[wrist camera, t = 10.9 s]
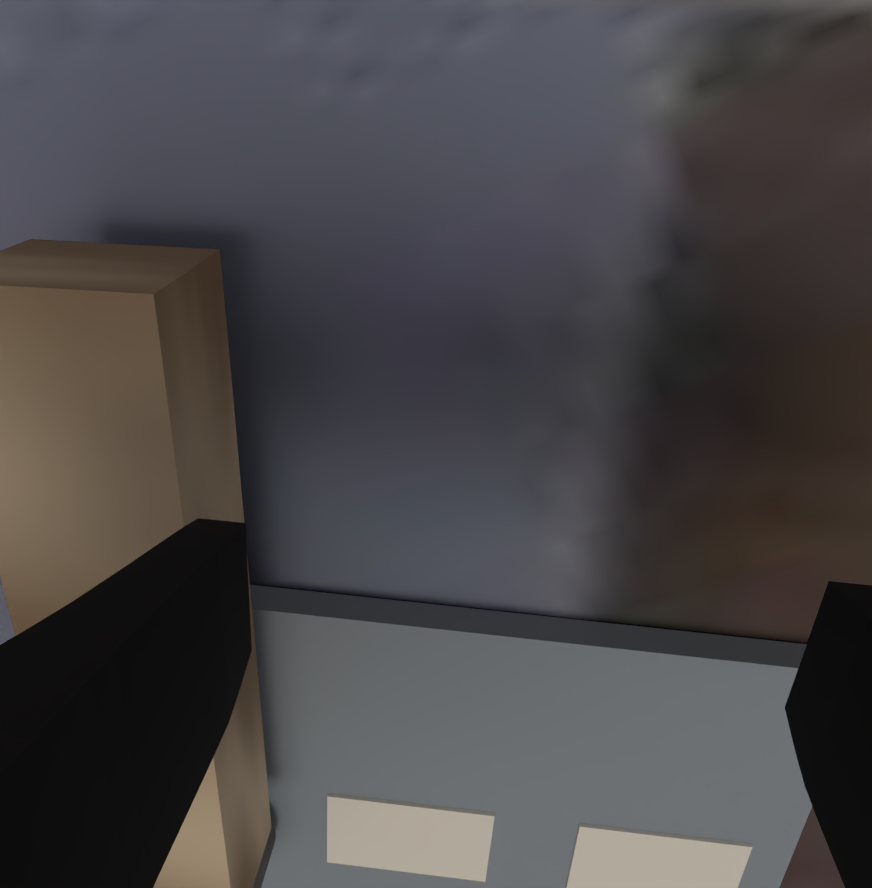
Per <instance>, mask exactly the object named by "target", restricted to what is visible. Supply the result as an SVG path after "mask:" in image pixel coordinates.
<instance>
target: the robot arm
mask: <svg viewBox="0 0 872 888" xmlns="http://www.w3.org/2000/svg"><path fill="white" fill-rule="evenodd" d="M251 651H252V643H251V623H250V604H249V585H248V565H247V546H246V526H245V523H241V522H231V521H221V520H211V519H201V518H198V519H196V520H194V521H193V522H191V523H189V524H188V525H186V526H184V527H183V528H181V529H180V530H178V531H177V532H175V533H174V534H172V535H171V536H169V537H168V538H166V539H165V540H163V541H162V542H160V543H159V544H157V545H156V546H155V547H153V548H152V549H150V550H149V551H147V552H146V553H144V554H143V555H141V556H140V557H138V558H137V559H136V560H134V561H133V562H131V563H130V564H128V565H127V566H125V567H124V568H122V569H121V570H119V571H118V572H116V573H115V574H113V575H112V576H110V577H109V578H107V579H106V580H104V581H103V582H101V583H100V584H98V585H97V586H95V587H94V588H92V589H91V590H89V591H88V592H86V593H85V594H83V595H82V596H80V597H78V598H77V599H75V600H74V601H72V602H71V603H69V604H68V605H66V606H64V607H63V608H61V609H59V610H58V611H56V612H54V613H53V614H51V615H49V616H48V617H46V618H44V619H43V620H41V621H39V622H38V623H36V624H35V625H33V626H31V627H30V628H28V629H26V630H25V631H23V632H21V633H20V634H18V635H16V636H15V637H13V638H11V639H10V640H8V641H6V642H5V643H3V644H1V645H0V888H153V887H154V884H155V882H156V880H157V878H158V876H159V874H160V871H161V869H162V867H163V865H164V863H165V861H166V859H167V856H168V854H169V852H170V850H171V848H172V846H173V843H174V841H175V839H176V837H177V835H178V833H179V831H180V828H181V826H182V824H183V822H184V820H185V818H186V815H187V813H188V811H189V809H190V807H191V805H192V803H193V800H194V798H195V796H196V794H197V792H198V790H199V787H200V785H201V783H202V781H203V779H204V777H205V774H206V772H207V770H208V768H209V766H210V763H211V761H212V759H213V757H214V755H215V752H216V750H217V748H218V746H219V744H220V742H221V739H222V737H223V735H224V733H225V730H226V728H227V726H228V724H229V721H230V718H231V715H232V712H233V709H234V706H235V703H236V700H237V697H238V694H239V691H240V688H241V684H242V681H243V678H244V674H245V671H246V668H247V665H248V661H249V658H250V655H251ZM785 711H786V715H787V719H788V724H789V728H790V732H791V736H792V740H793V744H794V749H795V752H796V756H797V760H798V763H799V767H800V771H801V774H802V778H803V782H804V785H805V788H806V791H807V793H808V796H809V798H810V801H811V804H812V806H813V809H814V811H815V814H816V816H817V819H818V821H819V824H820V826H821V829H822V831H823V834H824V836H825V839H826V841H827V844H828V846H829V849H830V851H831V854H832V856H833V859H834V861H835V864H836V866H837V869H838V871H839V873H840V876H841V878H842V881H843V883H844V886H845V888H872V586H870V585H860V584H850V583H840V582H830V581H829V582H828V585H827V588H826V591H825V594H824V597H823V599H822V602H821V605H820V608H819V611H818V614H817V616H816V619H815V622H814V625H813V628H812V631H811V634H810V636H809V639H808V642H807V645H806V648H805V651H804V654H803V656H802V659H801V662H800V665H799V668H798V671H797V674H796V676H795V679H794V682H793V685H792V688H791V691H790V694H789V696H788V699H787V702H786V705H785Z"/></svg>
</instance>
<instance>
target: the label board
mask: <svg viewBox="0 0 872 888" xmlns="http://www.w3.org/2000/svg"><path fill="white" fill-rule="evenodd" d="M250 592H251V603H252V614H253V625H254V636H255V648H256V659H257V670H258V681H259V693H260V704H261V715H262V726H263V738H264V749H265V760H266V771H267V782H268V794H269V805H270V816H271V822H272V823H273V826H274V829H275V833H276V839H275V844H274V847H273V850H272V854H271V857H270V860H269V863H268V867H267V870H266V873H265V877H264V880H263V883H262V887H261V888H779V887H780V884H781V882H782V880H783V877H784V875H785V872H786V870H787V867H788V865H789V862H790V860H791V857H792V855H793V852H794V850H795V847H796V845H797V842H798V840H799V837H800V835H801V832H802V830H803V828H804V825H805V823H806V820H807V818H808V815H809V813H810V810H811V808H812V804H811V801H810V798H809V796H808V793H807V791H806V788H805V785H804V782H803V778H802V774H801V771H800V767H799V763H798V760H797V756H796V752H795V749H794V744H793V740H792V736H791V732H790V728H789V724H788V719H787V715H786V711H785V705H786V702H787V699H788V696H789V694H790V691H791V688H792V685H793V682H794V679H795V676H796V674H797V671H798V668H799V665H800V662H801V659H802V656H803V654H804V651H805V648H806V645H807V644H800V643H790V642H781V641H772V640H762V639H753V638H743V637H734V636H725V635H715V634H706V633H697V632H687V631H678V630H669V629H659V628H650V627H641V626H631V625H622V624H613V623H603V622H594V621H585V620H575V619H566V618H557V617H547V616H538V615H529V614H519V613H510V612H501V611H491V610H482V609H473V608H463V607H454V606H445V605H435V604H426V603H417V602H407V601H398V600H388V599H379V598H370V597H360V596H351V595H342V594H332V593H323V592H314V591H304V590H295V589H286V588H276V587H267V586H258V585H250Z"/></svg>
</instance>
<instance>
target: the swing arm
mask: <svg viewBox="0 0 872 888" xmlns="http://www.w3.org/2000/svg"><path fill="white" fill-rule="evenodd" d="M198 518H201V519H211V520H221V521H231V522H241V523H244V513H243V502H242V490H241V479H240V468H239V457H238V446H237V434H236V423H235V412H234V401H233V389H232V378H231V367H230V356H229V345H228V333H227V322H226V311H225V300H224V288H223V277H222V266H221V255H220V249H204V248H186V247H167V246H148V245H129V244H111V243H92V242H73V241H54V240H35V239H30V240H27V241H25V242H22V243H20V244H17V245H15V246H12V247H9V248H7V249H4V250H2V251H0V577H1V581H2V585H3V589H4V593H5V597H6V600H7V604H8V608H9V612H10V616H11V620H12V624H13V627H14V631H15V635H18V634H20V633H21V632H23V631H25V630H26V629H28V628H30V627H31V626H33V625H35V624H36V623H38V622H39V621H41V620H43V619H44V618H46V617H48V616H49V615H51V614H53V613H54V612H56V611H58V610H59V609H61V608H63V607H64V606H66V605H68V604H69V603H71V602H72V601H74V600H75V599H77V598H78V597H80V596H82V595H83V594H85V593H86V592H88V591H89V590H91V589H92V588H94V587H95V586H97V585H98V584H100V583H101V582H103V581H104V580H106V579H107V578H109V577H110V576H112V575H113V574H115V573H116V572H118V571H119V570H121V569H122V568H124V567H125V566H127V565H128V564H130V563H131V562H133V561H134V560H136V559H137V558H138V557H140V556H141V555H143V554H144V553H146V552H147V551H149V550H150V549H152V548H153V547H155V546H156V545H157V544H159V543H160V542H162V541H163V540H165V539H166V538H168V537H169V536H171V535H172V534H174V533H175V532H177V531H178V530H180V529H181V528H183V527H184V526H186V525H188V524H189V523H191V522H193V521H194V520H196V519H198ZM247 565H248V558H247ZM248 585H249V604H250V623H251V643H252V651H251V655H250V658H249V661H248V665H247V668H246V671H245V674H244V678H243V681H242V684H241V688H240V691H239V694H238V697H237V700H236V703H235V706H234V709H233V712H232V715H231V718H230V721H229V724H228V726H227V728H226V730H225V733H224V735H223V737H222V739H221V742H220V744H219V746H218V748H217V750H216V752H215V755H214V757H213V759H212V761H211V763H210V766H209V768H208V770H207V772H206V774H205V777H204V779H203V781H202V783H201V785H200V787H199V790H198V792H197V794H196V796H195V798H194V800H193V803H192V805H191V807H190V809H189V811H188V813H187V815H186V818H185V820H184V822H183V824H182V826H181V828H180V831H179V833H178V835H177V837H176V839H175V841H174V843H173V846H172V848H171V850H170V852H169V854H168V856H167V859H166V861H165V863H164V865H163V867H162V869H161V871H160V874H159V876H158V878H157V880H156V882H155V884H154V887H153V888H261V887H262V883H263V880H264V877H265V873H266V870H267V867H268V863H269V860H270V857H271V854H272V850H273V847H274V844H275V839H276V833H275V829H274V826H273V823H272V822H271V816H270V805H269V794H268V782H267V771H266V760H265V749H264V738H263V726H262V715H261V704H260V693H259V681H258V670H257V659H256V648H255V636H254V625H253V614H252V603H251V592H250V580H249V569H248Z"/></svg>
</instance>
